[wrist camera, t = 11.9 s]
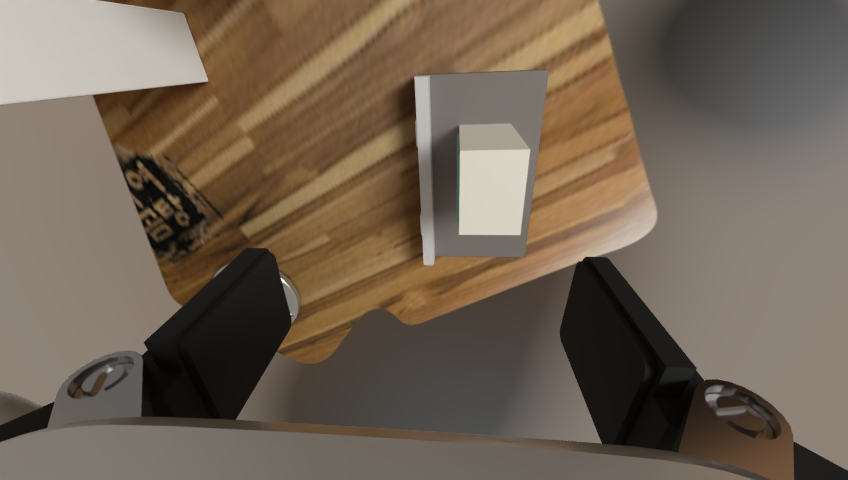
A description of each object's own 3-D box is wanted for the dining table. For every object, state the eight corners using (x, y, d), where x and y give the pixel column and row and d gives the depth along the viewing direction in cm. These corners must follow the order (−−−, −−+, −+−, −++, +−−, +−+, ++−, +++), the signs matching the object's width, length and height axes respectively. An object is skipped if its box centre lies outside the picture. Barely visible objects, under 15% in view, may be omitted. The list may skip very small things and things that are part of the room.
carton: (505, 190, 36) (520, 235, 27) (456, 191, 36) (456, 234, 27) (510, 123, 32) (530, 149, 23) (457, 124, 33) (456, 150, 24)
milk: (159, 86, 35) (-202, 128, 16) (129, 18, 32) (-360, -31, 13) (211, 81, 34) (-104, 119, 15) (185, 11, 31) (-247, -52, 12)
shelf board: (522, 250, 41) (527, 266, 38) (424, 249, 42) (422, 264, 39) (545, 69, 31) (554, 71, 28) (416, 74, 32) (412, 77, 29)
